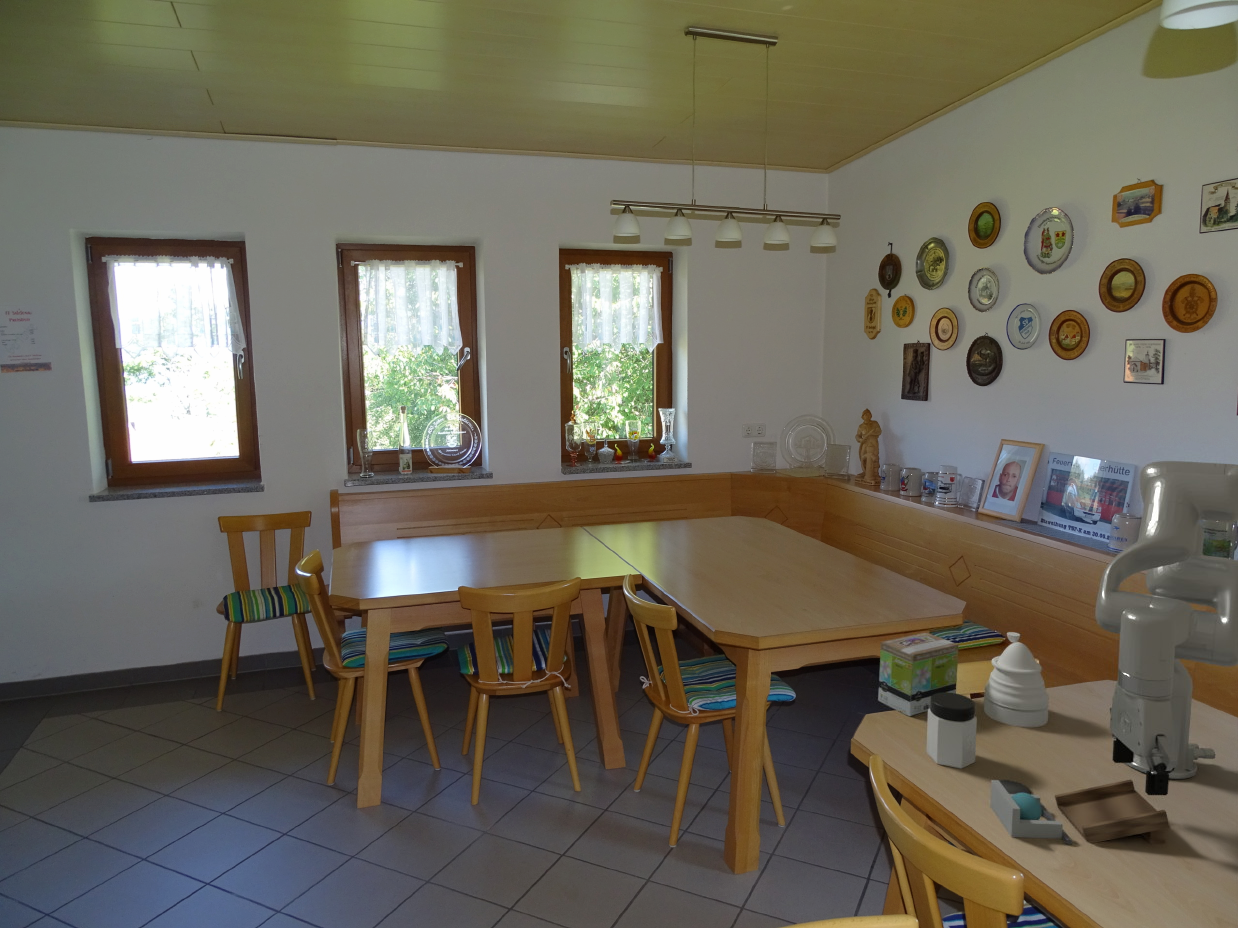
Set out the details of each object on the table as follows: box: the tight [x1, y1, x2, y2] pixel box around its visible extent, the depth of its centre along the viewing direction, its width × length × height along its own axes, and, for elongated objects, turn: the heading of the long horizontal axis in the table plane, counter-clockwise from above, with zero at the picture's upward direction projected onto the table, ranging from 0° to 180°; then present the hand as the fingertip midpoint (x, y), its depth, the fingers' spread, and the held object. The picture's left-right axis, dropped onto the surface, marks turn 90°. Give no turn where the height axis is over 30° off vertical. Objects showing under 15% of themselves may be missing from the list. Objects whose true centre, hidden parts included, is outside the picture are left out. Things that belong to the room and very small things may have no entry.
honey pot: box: [983, 631, 1050, 728], centre depth 172 cm, size 13×13×18 cm
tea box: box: [877, 632, 959, 717], centre depth 179 cm, size 15×10×15 cm, turn 117°
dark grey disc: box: [998, 779, 1033, 795], centre depth 141 cm, size 6×6×1 cm
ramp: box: [1054, 779, 1170, 844], centre depth 130 cm, size 13×10×6 cm
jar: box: [926, 692, 978, 769], centre depth 153 cm, size 9×8×12 cm
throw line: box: [1040, 801, 1073, 845], centre depth 131 cm, size 1×12×1 cm, turn 175°
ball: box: [1012, 793, 1042, 820], centre depth 131 cm, size 5×5×5 cm
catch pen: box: [989, 779, 1064, 840], centre depth 131 cm, size 8×9×5 cm
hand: (1138, 777), depth 130 cm, fingers open, 9 cm apart
